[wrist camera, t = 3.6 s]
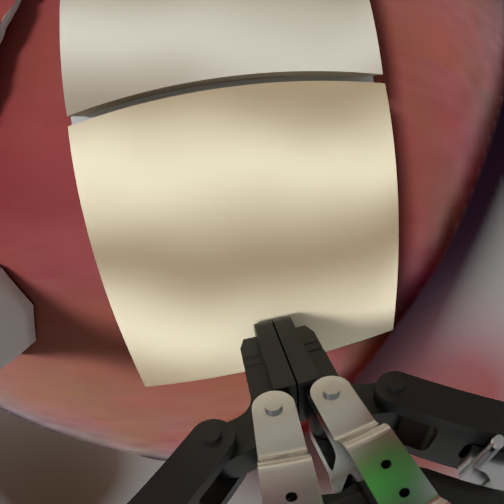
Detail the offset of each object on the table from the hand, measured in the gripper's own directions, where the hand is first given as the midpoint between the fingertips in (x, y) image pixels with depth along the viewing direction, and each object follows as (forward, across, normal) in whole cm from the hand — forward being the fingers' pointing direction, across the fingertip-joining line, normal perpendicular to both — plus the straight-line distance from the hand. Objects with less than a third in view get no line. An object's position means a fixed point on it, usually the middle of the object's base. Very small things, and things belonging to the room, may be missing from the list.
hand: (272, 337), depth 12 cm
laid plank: (+2, 0, -16) cm, 16 cm away
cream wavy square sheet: (+2, 0, -4) cm, 4 cm away
